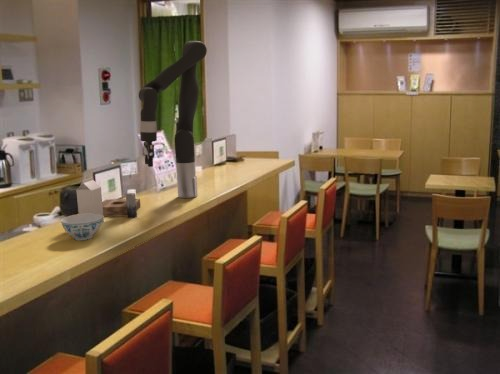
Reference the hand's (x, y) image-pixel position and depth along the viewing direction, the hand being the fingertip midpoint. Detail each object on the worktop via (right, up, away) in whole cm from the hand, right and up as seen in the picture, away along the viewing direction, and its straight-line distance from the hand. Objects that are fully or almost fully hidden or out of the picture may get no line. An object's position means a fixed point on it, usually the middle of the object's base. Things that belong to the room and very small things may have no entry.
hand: (148, 165), depth 275 cm
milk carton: (-18, -26, -33) cm, 45 cm away
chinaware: (-15, -30, -54) cm, 63 cm away
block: (-11, -21, -13) cm, 27 cm away
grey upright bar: (-3, -23, -23) cm, 33 cm away
